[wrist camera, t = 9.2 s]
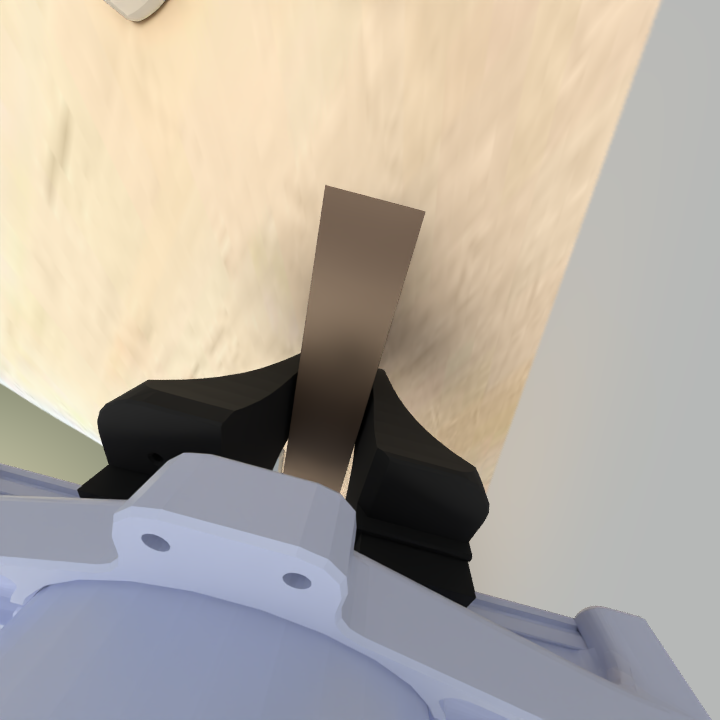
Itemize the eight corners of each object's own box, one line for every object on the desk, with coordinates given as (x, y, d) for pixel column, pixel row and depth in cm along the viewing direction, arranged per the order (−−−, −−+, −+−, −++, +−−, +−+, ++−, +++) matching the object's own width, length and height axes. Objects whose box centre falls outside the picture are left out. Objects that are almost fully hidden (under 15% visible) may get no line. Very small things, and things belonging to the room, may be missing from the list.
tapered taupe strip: (345, 450, 17) (323, 545, 12) (311, 441, 17) (274, 532, 12) (409, 226, 11) (425, 211, 6) (357, 212, 11) (325, 185, 6)
